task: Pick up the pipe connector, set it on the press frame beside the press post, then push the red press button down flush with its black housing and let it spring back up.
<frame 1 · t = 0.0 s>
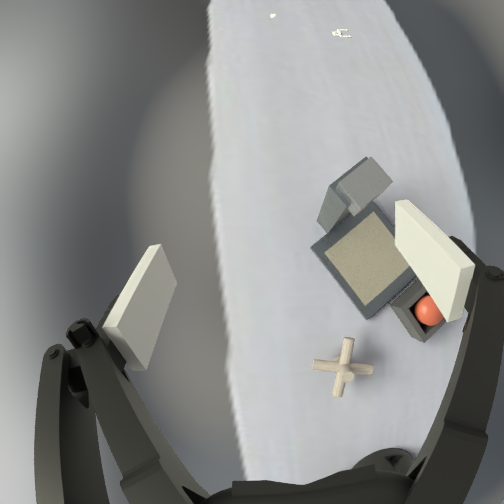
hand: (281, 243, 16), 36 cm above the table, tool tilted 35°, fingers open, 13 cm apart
press frame: (368, 258, 49), on the table
press button: (429, 310, 41), point 6 cm above the table, slide at 0.0 cm
pipe connector: (338, 359, 48), on the table
button housing: (416, 307, 47), on the table
paper: (323, 28, 55), on the table
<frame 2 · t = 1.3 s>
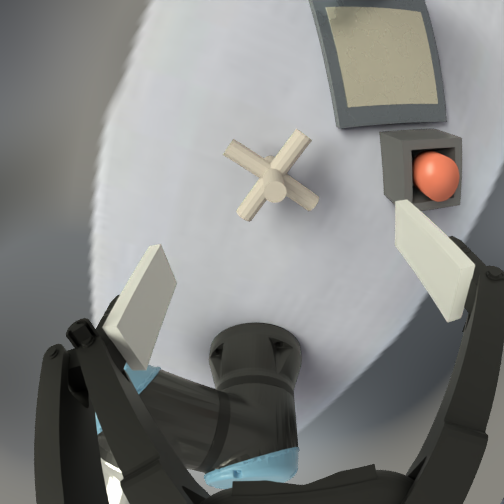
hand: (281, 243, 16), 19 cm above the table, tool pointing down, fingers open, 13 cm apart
press frame: (382, 55, 24), on the table
press button: (434, 175, 25), point 6 cm above the table, slide at 0.0 cm
pipe connector: (270, 163, 32), on the table
button housing: (410, 160, 31), on the table
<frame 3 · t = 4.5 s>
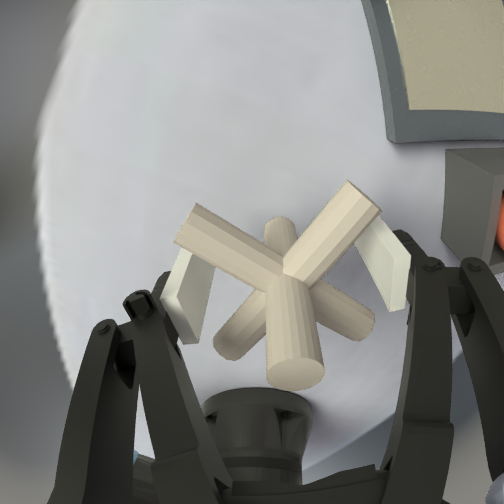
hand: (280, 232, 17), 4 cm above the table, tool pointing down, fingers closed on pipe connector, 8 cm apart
press frame: (451, 35, 12), on the table
pipe connector: (279, 229, 17), point 4 cm above the table, touching gripper
button housing: (478, 192, 19), on the table
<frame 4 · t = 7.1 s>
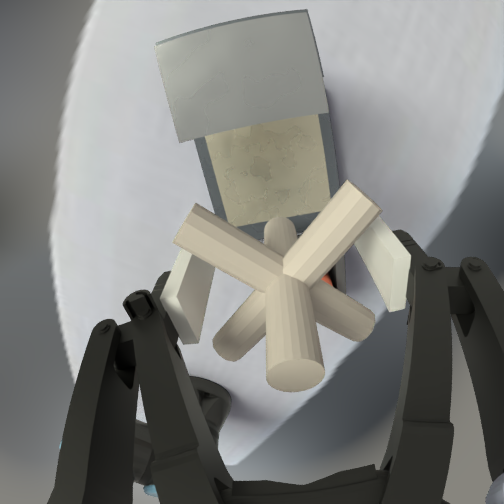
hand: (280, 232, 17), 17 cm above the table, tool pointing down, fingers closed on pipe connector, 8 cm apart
press frame: (270, 164, 31), on the table
press button: (311, 290, 32), point 6 cm above the table, slide at 0.0 cm
pipe connector: (279, 229, 17), point 16 cm above the table, touching gripper
button housing: (304, 261, 37), on the table
when the fingers open (2 cm above the table, at t = 10.1 s): pipe connector stays where it is, resting on press frame.
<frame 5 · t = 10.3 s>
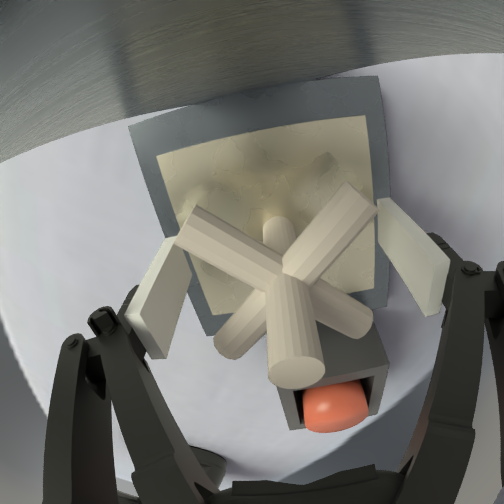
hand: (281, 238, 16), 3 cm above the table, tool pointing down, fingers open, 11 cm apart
press frame: (278, 217, 19), on the table
press button: (334, 403, 20), point 6 cm above the table, slide at 0.0 cm
pipe connector: (278, 228, 17), point 1 cm above the table, touching press frame
button housing: (323, 347, 25), on the table
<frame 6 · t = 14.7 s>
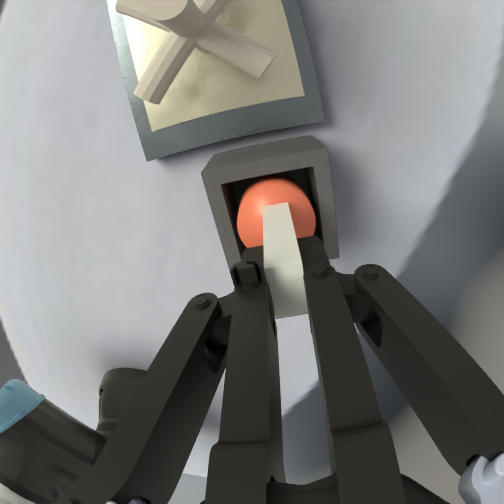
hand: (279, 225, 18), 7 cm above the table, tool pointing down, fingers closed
press frame: (211, 43, 18), on the table
press button: (275, 215, 19), point 6 cm above the table, slide at -0.4 cm, touching gripper
pipe connector: (207, 41, 17), point 1 cm above the table, touching press frame
button housing: (271, 188, 24), on the table
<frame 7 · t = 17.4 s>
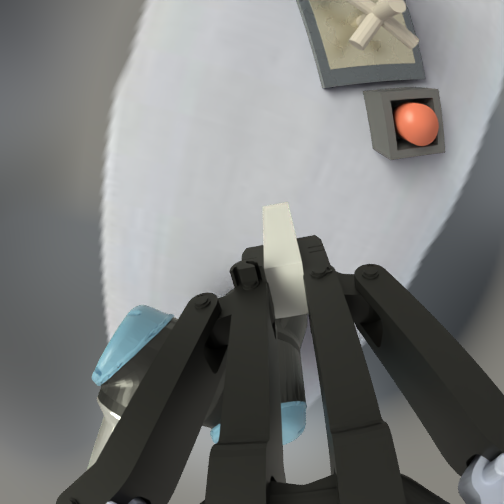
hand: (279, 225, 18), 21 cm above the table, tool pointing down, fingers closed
press frame: (359, 24, 26), on the table
press button: (415, 123, 27), point 6 cm above the table, slide at -0.2 cm
pipe connector: (362, 22, 24), point 1 cm above the table, touching press frame
button housing: (394, 116, 32), on the table
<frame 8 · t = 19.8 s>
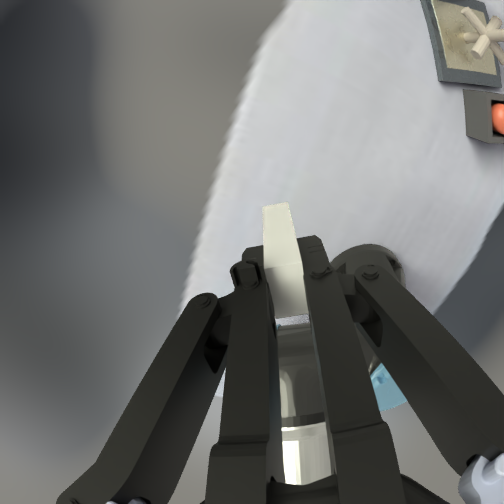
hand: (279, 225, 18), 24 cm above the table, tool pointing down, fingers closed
press frame: (462, 38, 26), on the table
press button: (502, 118, 27), point 6 cm above the table, slide at -0.2 cm
pipe connector: (467, 38, 25), point 1 cm above the table, touching press frame
button housing: (480, 113, 32), on the table
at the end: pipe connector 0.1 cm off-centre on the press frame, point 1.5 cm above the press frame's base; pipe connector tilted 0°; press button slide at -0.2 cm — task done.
